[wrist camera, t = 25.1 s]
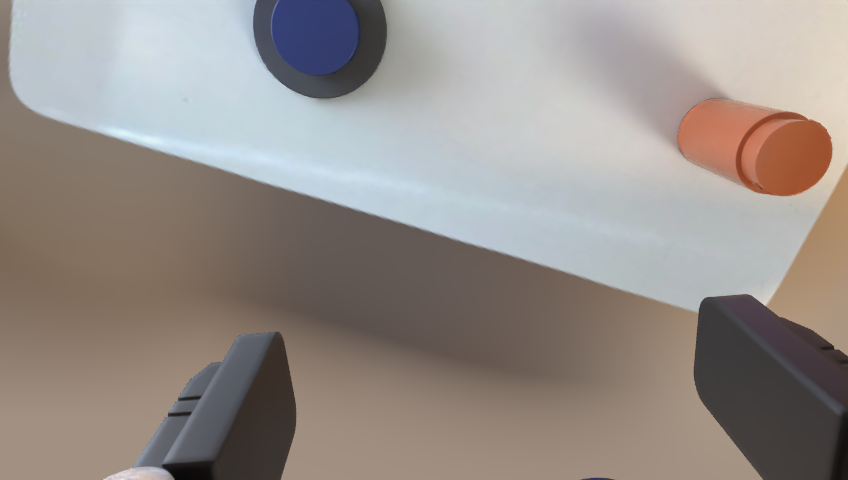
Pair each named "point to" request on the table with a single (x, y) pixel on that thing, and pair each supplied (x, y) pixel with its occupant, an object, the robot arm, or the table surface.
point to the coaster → (330, 84)
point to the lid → (316, 34)
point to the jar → (756, 146)
